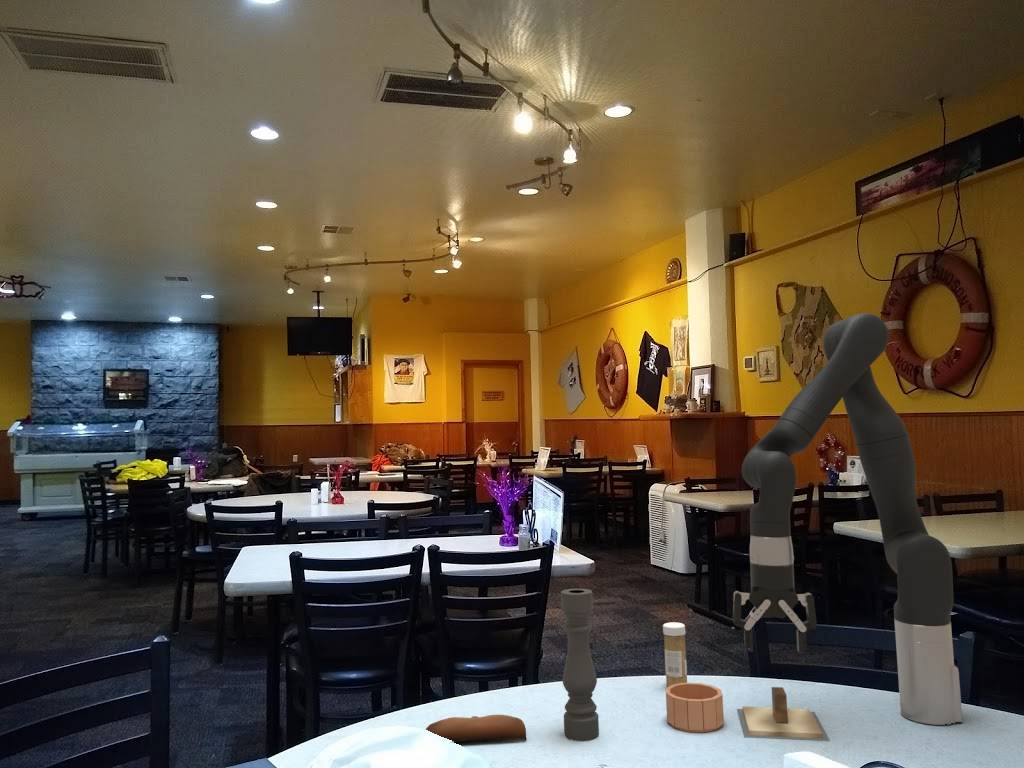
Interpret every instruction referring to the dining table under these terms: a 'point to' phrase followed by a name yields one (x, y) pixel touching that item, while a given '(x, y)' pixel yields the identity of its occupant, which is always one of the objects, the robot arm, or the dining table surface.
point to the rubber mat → (746, 735)
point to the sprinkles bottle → (675, 653)
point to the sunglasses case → (479, 728)
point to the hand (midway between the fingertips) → (775, 651)
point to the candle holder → (579, 667)
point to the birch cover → (781, 719)
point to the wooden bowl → (694, 707)
